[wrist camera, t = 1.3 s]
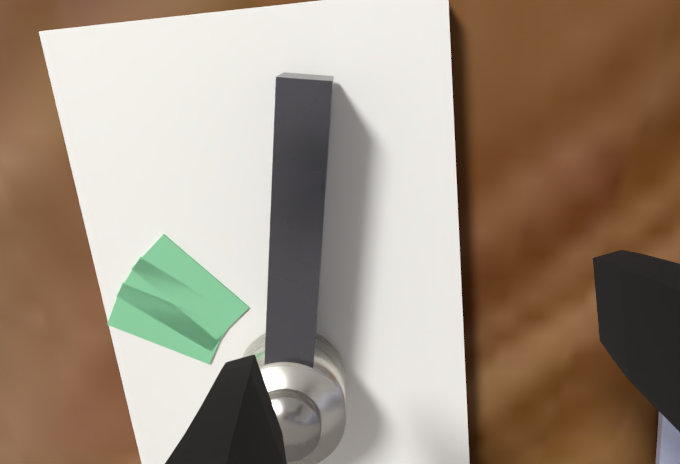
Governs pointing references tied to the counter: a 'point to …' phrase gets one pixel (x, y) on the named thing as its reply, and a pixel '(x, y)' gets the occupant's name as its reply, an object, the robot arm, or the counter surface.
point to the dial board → (255, 206)
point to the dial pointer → (300, 276)
